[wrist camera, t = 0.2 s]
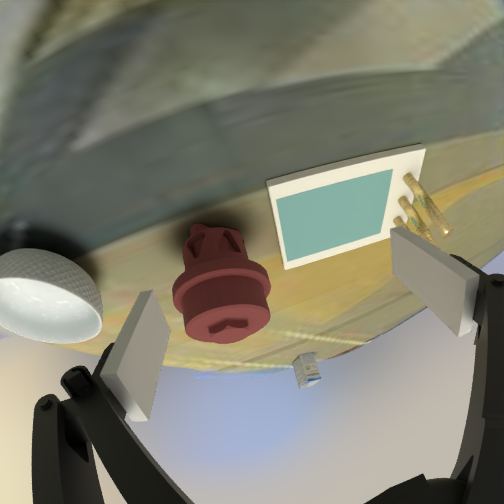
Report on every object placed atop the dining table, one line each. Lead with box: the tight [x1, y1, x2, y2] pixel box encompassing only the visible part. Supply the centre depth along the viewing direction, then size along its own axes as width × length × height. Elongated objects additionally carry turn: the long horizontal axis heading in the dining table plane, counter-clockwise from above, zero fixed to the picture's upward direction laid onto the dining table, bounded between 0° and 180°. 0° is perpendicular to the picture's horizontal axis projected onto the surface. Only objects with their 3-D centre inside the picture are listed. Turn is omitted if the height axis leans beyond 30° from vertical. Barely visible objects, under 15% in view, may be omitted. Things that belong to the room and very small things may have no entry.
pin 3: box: [398, 196, 441, 249], centre depth 33 cm, size 1×1×9 cm
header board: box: [266, 144, 426, 270], centre depth 36 cm, size 16×19×1 cm
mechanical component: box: [172, 223, 271, 344], centre depth 32 cm, size 12×10×10 cm
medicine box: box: [293, 353, 321, 388], centre depth 84 cm, size 8×4×9 cm, turn 171°
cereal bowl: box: [0, 248, 103, 343], centre depth 31 cm, size 17×17×7 cm
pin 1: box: [393, 216, 409, 230], centre depth 36 cm, size 1×1×9 cm
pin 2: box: [403, 173, 453, 238], centre depth 30 cm, size 1×1×9 cm
